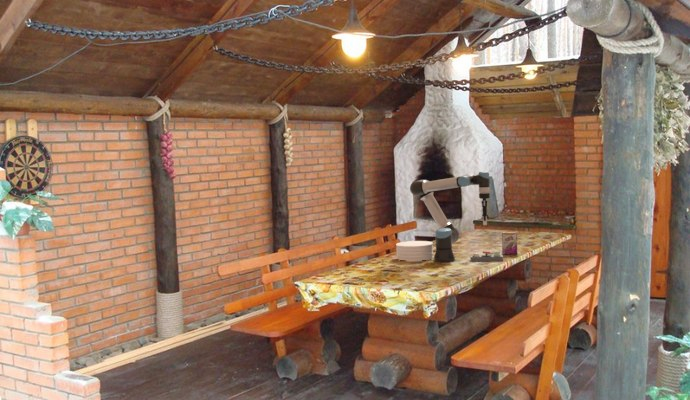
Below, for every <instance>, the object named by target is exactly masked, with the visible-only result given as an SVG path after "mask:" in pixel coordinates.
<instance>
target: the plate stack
mask: <svg viewBox="0 0 690 400" xmlns="http://www.w3.org/2000/svg"><path fill="white" fill-rule="evenodd" d="M395 245H396V246H395V247H396V248H395V250H396V260H397V259H400V260H406V261H405V262H423V261H422V260H426V261H430V259H431V260H434V256H435V253H434V242H433V241H428V240H407V241H401V242H397V243H396V244H395ZM400 260H399V261H400Z"/></svg>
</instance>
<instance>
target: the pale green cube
mask: <svg viewBox="0 0 690 400" xmlns="http://www.w3.org/2000/svg"><path fill="white" fill-rule="evenodd" d="M493 251H494V252H493V253H494V254H493V255H495V256H500V255H501V254H500V250H493Z"/></svg>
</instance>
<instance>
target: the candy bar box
mask: <svg viewBox="0 0 690 400" xmlns="http://www.w3.org/2000/svg"><path fill="white" fill-rule="evenodd" d="M501 247H502V248H501V249H502V251H501V253H502V254H501V255H517V254H518V232H517V231H502V233H501Z"/></svg>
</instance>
